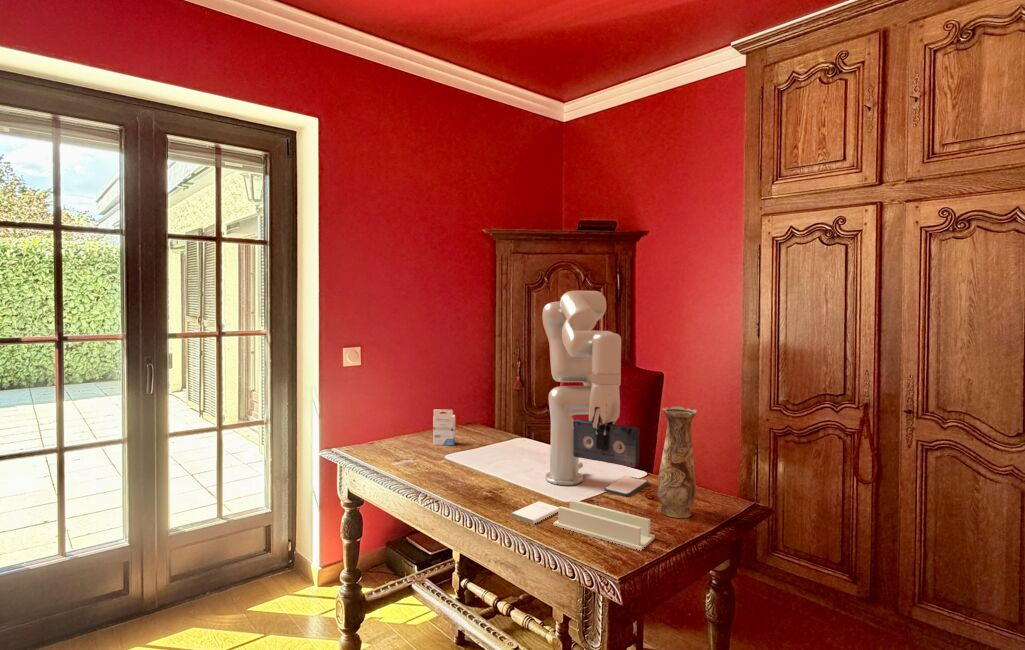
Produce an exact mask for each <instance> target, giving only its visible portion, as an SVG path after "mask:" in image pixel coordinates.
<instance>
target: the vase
mask: <svg viewBox="0 0 1025 650" xmlns="http://www.w3.org/2000/svg"><path fill="white" fill-rule="evenodd" d="M662 411H663V412H664V413H663V414H664V415H665V417H666V421H667V422H666V423H667V424H666V425H667V426H666V433H665V439H664V445H663V449H662V454H661V455H662V456H661V461H660V466H659V472H658V476H657V477H658V478H657V498H658V500H659V502H660V503H661V506H660V508H659V512H660V514H662V515H664V516H667V517H671V518H676V519H686V518H690V517H691V516H692V512H691V510H690V507H692V506H693V504H694V502H695V498H696V488H697V487H696V486H697V485H696V472H695V463H694V461H695V460H694V451H693V441H692V428H691V427H692V421H693V420H694V418H695V417H696V415H697V413H698V410H697V409H695V408H694V409H691V408H684V407H683V406H676V405H675V406H671V407H670V408H669V407H668V406H667V407H665V408H664V407H662Z"/></svg>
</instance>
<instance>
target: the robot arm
mask: <svg viewBox="0 0 1025 650" xmlns="http://www.w3.org/2000/svg"><path fill="white" fill-rule="evenodd" d="M605 297H606V296H604V294H603V293H602V292H601V291H597V290H570V291H566V292H565V293H563V295H561V297H560V300H559V301H553V302H548V303H547V304H545V305H544V307H543V308H542V325H543V329H544V331H545V334H546V336H547V341H548V343H549V345H548V346H549V358H550V359H549V360H550V370H551V371H550V372H551V377H552V379H553V380H554V381H555V382H559V383H582V384H583V385H560V386H555V387H554V388H552V389H550V391H549V393H548V399H547V400H548V407H549V413H550V415H549V416H550V448H549V449H550V451H549V452H550V455H549V456H550V459H549V460H550V461H549V465H550V466H549V467H550V468H549V472H547V473H546V474H545V477H544V478H545V480H546V481H547V482H548V483H550V484H554V485H557V484H558V486H574V484H575V485H579V484H581V483H582V482H583V481H584V477H583V475H582V474H581V473H579V470H580V469H582V468H584V465H583V462H579V460H580V458H578V457H574V456H573V429H574V427H573V421H574V420H575V419H574V418H573V416H577V415H588V421H590V422H593V428H595V429H596V434H597V440H596V448H597V449H601V450H608V435H607V425H608V424H614V425H616V422H617V421H618V419H619V418H620V412H621V400H620V399H621V398H620V397H621V396H620V386H621V383H622V382H621V380H622V379H621V377H622V374H621V371H622V370H621V368H622V366H621V365H622V362H621V361H622V337H621V335H620V334H619V333H614V331H613V332H612V331H611V330H593V329H594V328H595V326H596V325H597V322H598V321H599V320H601V318H603V316H604V315H605V313H606V311H607V300H606V298H605ZM600 425H603V426H604V428H603V426H600ZM580 482H581V483H580ZM578 483H579V484H578Z"/></svg>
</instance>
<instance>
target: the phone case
mask: <svg viewBox="0 0 1025 650" xmlns="http://www.w3.org/2000/svg"><path fill="white" fill-rule="evenodd" d="M648 485H649V481H648V479H644V478H639V477H635V476H630V475H624V476H622V477H621V478H619V479H617V480H616V481H613V482H612V483H610V484H608V485H607V486H606V487H604V488H603V491H604V490H605V491H607V492H606V493H608V492H609V494H612V493H613V494H612V495H616V496H620V497H624V498H628V497H631V496H633V495H634V494H635V492H636V493H637V492H639V491H640V490H641V489H643V488H645V487H647V486H648ZM605 491H604V492H605Z"/></svg>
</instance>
